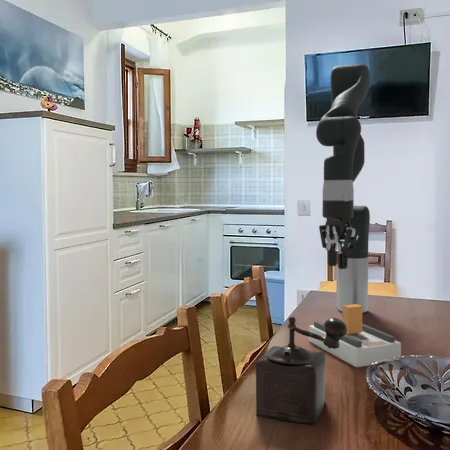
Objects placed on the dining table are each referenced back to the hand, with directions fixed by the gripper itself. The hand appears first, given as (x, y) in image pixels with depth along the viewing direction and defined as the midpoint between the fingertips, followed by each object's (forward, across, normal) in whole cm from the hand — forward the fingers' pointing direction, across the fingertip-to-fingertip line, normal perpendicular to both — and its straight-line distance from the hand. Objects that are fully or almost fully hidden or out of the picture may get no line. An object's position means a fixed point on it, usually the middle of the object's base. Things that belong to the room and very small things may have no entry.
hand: (337, 266), depth 123 cm
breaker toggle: (+15, +7, 0) cm, 16 cm away
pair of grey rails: (+15, +7, 0) cm, 17 cm away
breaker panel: (+19, +6, 0) cm, 20 cm away
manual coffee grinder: (+20, +30, -27) cm, 45 cm away
